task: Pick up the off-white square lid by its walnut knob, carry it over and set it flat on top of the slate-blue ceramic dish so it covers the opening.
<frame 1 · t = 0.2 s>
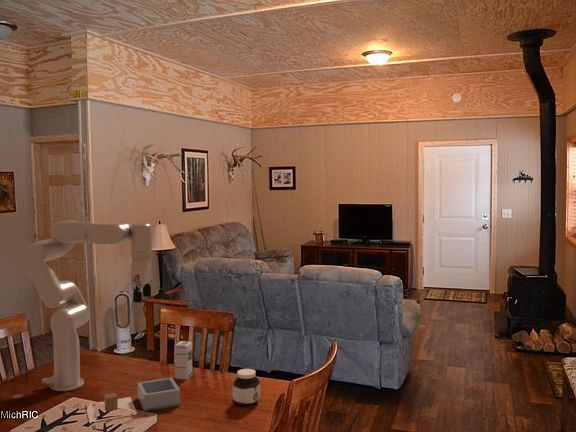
hand: (142, 299, 204), 37 cm above the table, tool pointing down, fingers open, 9 cm apart
syrup box: (183, 377, 222), on the table
spread jar: (245, 400, 199), on the table
dish: (158, 401, 197), on the table
lid: (111, 411, 190), on the table
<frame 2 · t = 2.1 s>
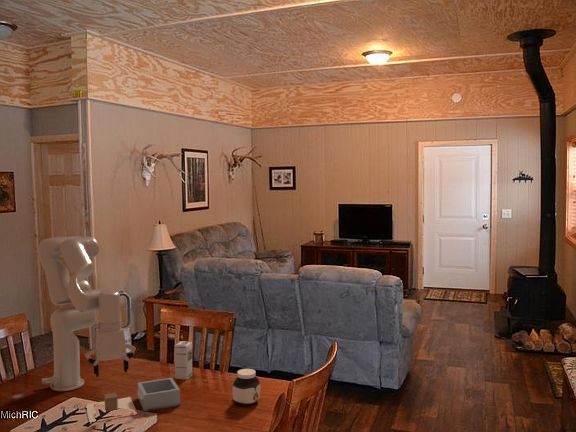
hand: (111, 373, 188), 14 cm above the table, tool pointing down, fingers open, 9 cm apart
nothing on the table moved.
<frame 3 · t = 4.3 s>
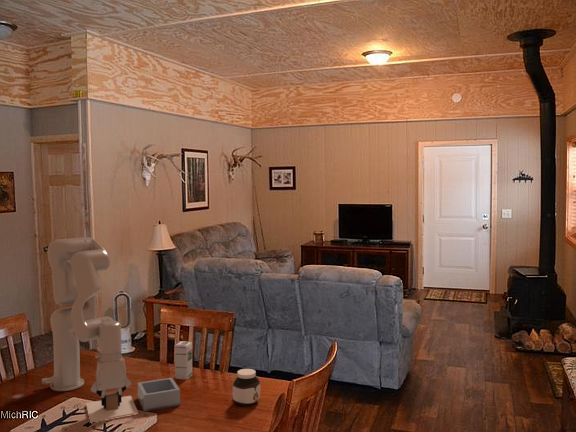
hand: (111, 405, 189), 2 cm above the table, tool pointing down, fingers closed on lid, 4 cm apart
lid: (111, 410, 190), on the table, touching gripper
everything else where it was.
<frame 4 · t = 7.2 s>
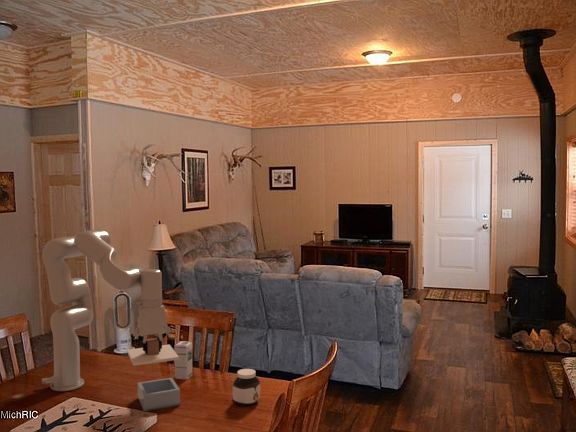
hand: (152, 351, 195), 20 cm above the table, tool pointing down, fingers closed on lid, 4 cm apart
lid: (152, 355, 195), point 18 cm above the table, touching gripper
everything else where it was.
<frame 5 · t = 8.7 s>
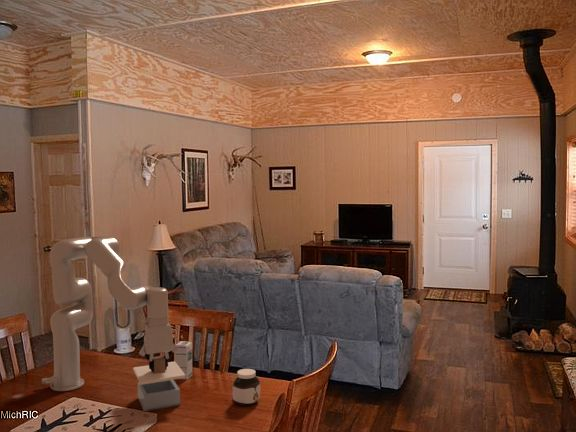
hand: (158, 369, 196), 12 cm above the table, tool pointing down, fingers closed on lid, 4 cm apart
lid: (158, 373, 196), point 11 cm above the table, touching gripper
everything else where it was.
when the fingers open (9 cm above the table, at t = 10.1 s): lid drops 1 cm, resting on dish.
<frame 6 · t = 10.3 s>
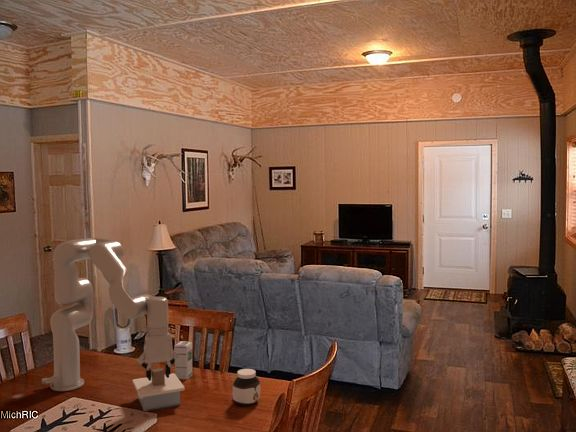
hand: (158, 377, 196), 9 cm above the table, tool pointing down, fingers open, 6 cm apart
lid: (158, 386, 197), point 6 cm above the table, touching dish
everything else where it was.
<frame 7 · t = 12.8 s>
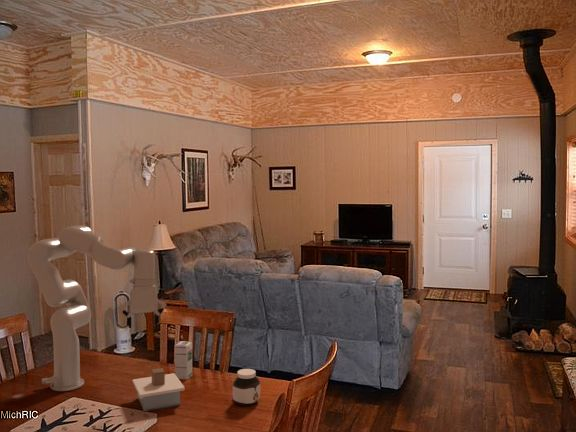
hand: (142, 326, 201), 27 cm above the table, tool pointing down, fingers open, 9 cm apart
nothing on the table moved.
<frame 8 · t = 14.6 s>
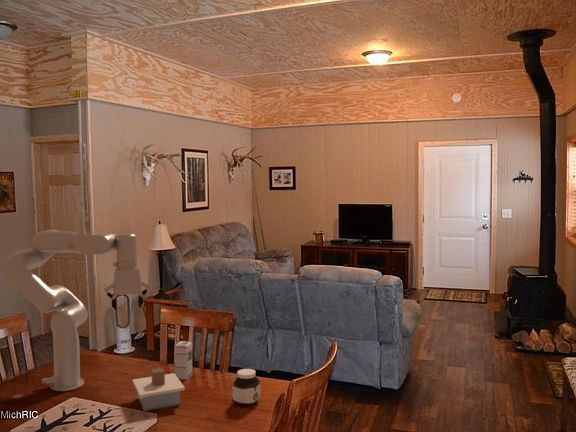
hand: (127, 307, 209), 32 cm above the table, tool pointing down, fingers open, 9 cm apart
nothing on the table moved.
at the end: lid 0.1 cm off-centre on the dish, point 6.0 cm above the dish's base; lid tilted 0°; the gripper is holding nothing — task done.
